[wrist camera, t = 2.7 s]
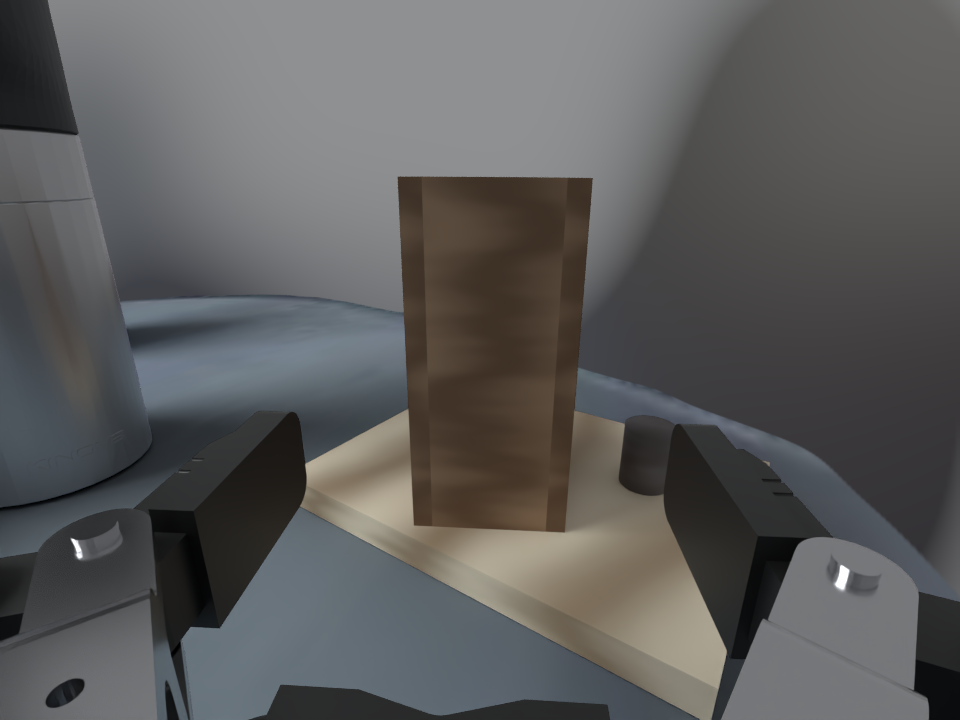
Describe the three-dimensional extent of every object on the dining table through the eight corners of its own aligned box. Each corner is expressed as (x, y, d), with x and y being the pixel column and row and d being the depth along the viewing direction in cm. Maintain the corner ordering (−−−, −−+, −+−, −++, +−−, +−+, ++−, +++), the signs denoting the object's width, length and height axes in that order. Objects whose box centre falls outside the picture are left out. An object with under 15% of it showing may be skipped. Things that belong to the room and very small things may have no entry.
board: (288, 500, 26) (277, 420, 24) (460, 399, 37) (460, 341, 36) (710, 724, 15) (737, 610, 14) (764, 486, 27) (782, 410, 25)
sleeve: (413, 525, 22) (397, 176, 17) (435, 449, 28) (428, 176, 23) (564, 532, 21) (592, 178, 16) (553, 453, 27) (571, 177, 22)
